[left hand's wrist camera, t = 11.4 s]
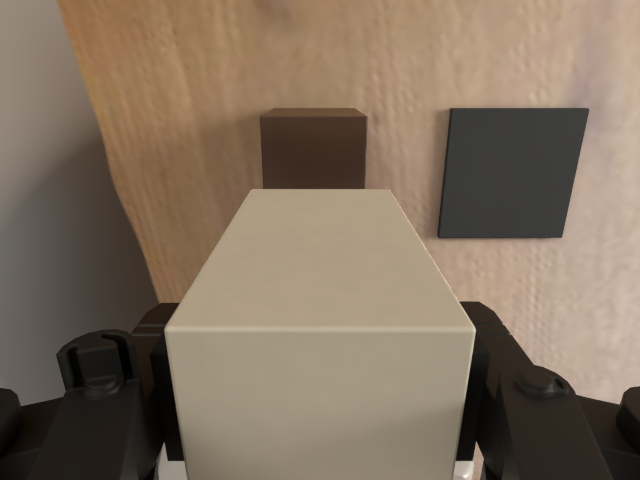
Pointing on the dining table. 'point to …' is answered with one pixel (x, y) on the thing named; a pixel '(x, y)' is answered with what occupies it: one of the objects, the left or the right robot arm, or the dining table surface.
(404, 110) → the dining table surface
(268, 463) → the beige block
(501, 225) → the mat
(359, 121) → the walnut box
